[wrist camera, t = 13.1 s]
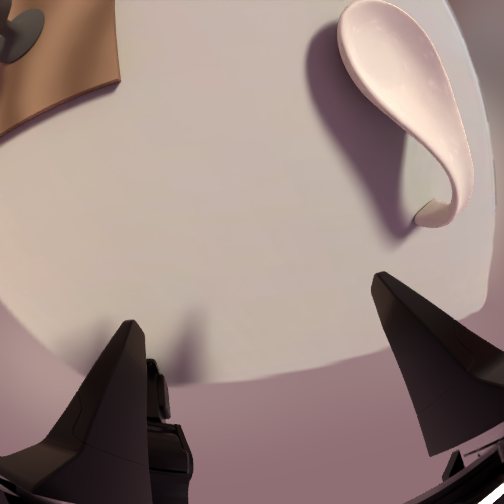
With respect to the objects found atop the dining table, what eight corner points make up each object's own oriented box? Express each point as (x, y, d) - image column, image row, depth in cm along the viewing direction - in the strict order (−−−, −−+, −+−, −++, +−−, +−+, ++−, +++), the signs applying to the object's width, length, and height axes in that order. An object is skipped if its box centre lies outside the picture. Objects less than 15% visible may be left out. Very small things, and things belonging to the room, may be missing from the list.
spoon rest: (292, 23, 15) (341, -10, 9) (380, 2, 15) (430, -15, 9) (393, 240, 27) (440, 269, 20) (450, 187, 26) (494, 205, 20)
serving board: (-33, 160, 11) (-39, 162, 10) (-30, 20, 4) (-34, 18, 3) (121, 81, 14) (118, 78, 13) (116, -59, 7) (115, -64, 6)
